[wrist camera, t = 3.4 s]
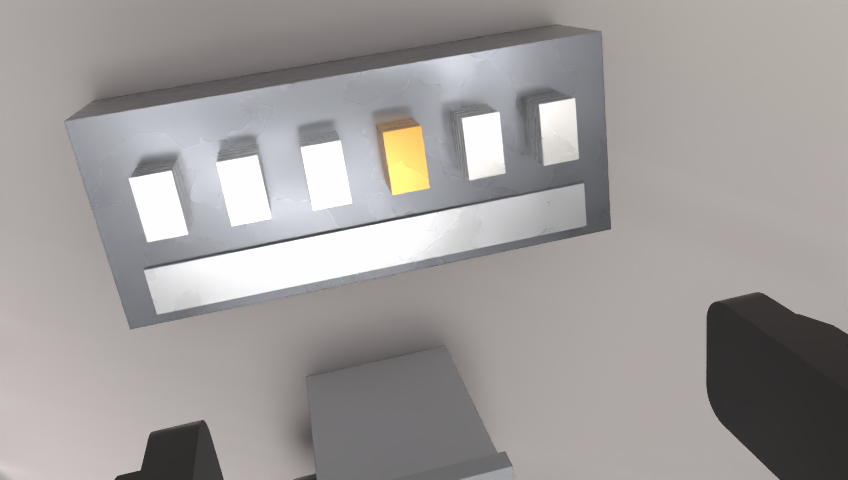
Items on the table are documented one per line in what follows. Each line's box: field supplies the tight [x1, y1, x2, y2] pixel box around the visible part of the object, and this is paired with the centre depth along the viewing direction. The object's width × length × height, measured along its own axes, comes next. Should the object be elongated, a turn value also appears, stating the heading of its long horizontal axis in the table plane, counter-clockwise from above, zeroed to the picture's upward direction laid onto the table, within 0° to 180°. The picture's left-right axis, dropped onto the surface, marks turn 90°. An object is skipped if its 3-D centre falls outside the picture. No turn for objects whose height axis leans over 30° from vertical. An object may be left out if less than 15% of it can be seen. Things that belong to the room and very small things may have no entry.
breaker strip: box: [64, 25, 611, 329], centre depth 25 cm, size 17×7×6 cm, turn 98°
